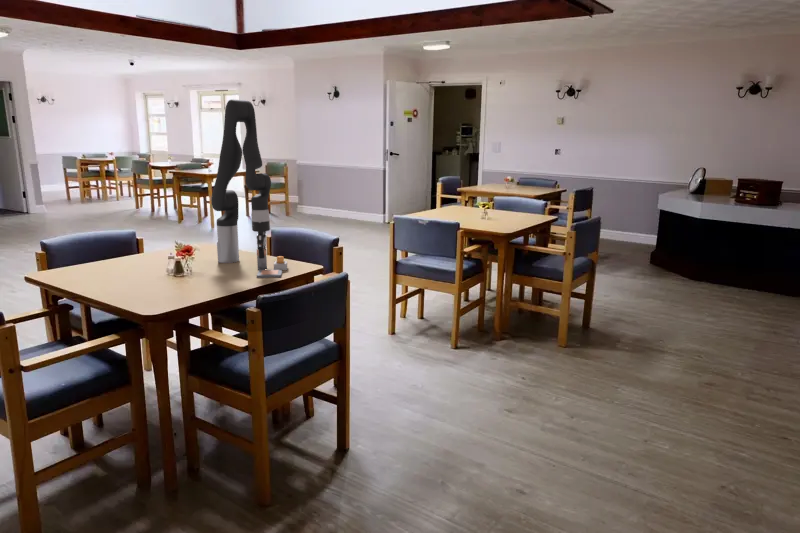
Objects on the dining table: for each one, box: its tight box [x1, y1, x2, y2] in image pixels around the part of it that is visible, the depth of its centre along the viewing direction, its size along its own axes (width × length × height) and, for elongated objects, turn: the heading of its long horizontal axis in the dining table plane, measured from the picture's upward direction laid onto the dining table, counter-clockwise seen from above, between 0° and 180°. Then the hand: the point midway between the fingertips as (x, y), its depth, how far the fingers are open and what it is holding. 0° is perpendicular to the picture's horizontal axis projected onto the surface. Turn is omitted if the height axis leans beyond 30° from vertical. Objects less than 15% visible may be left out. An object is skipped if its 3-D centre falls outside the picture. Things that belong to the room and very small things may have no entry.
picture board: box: [256, 269, 283, 279], centre depth 242 cm, size 10×10×1 cm
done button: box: [276, 255, 285, 264], centre depth 251 cm, size 3×3×3 cm
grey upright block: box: [256, 248, 268, 271], centre depth 250 cm, size 4×4×9 cm
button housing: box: [273, 260, 288, 271], centre depth 252 cm, size 6×6×3 cm
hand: (262, 256), depth 249 cm, fingers open, 8 cm apart
